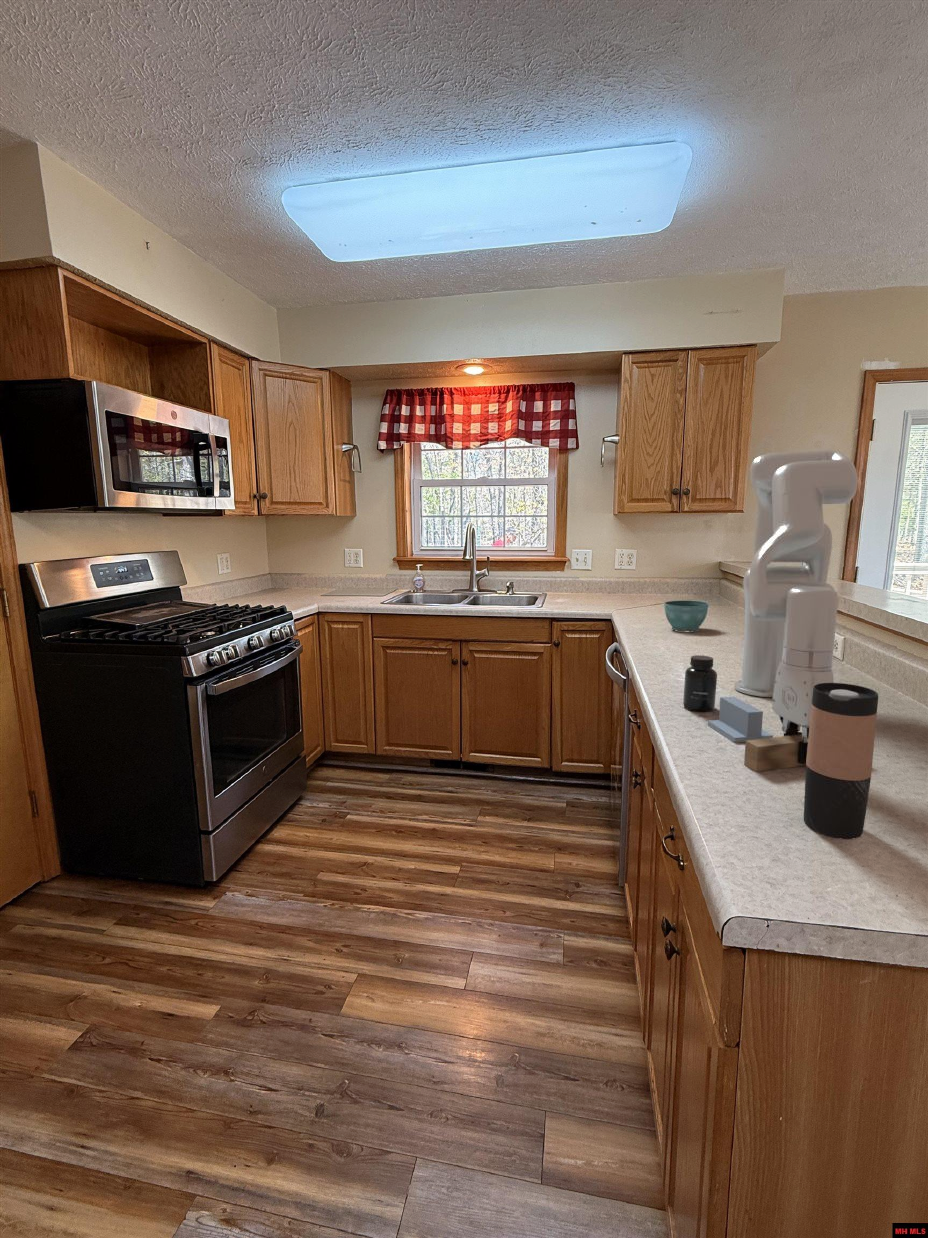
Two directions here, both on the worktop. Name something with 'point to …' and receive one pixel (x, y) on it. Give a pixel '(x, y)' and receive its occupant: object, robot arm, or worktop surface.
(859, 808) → the travel mug
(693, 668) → the supplement bottle
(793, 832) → the worktop surface
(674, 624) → the teal bowl
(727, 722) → the fulcrum
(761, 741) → the walnut bar
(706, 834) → the worktop surface
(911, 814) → the worktop surface
